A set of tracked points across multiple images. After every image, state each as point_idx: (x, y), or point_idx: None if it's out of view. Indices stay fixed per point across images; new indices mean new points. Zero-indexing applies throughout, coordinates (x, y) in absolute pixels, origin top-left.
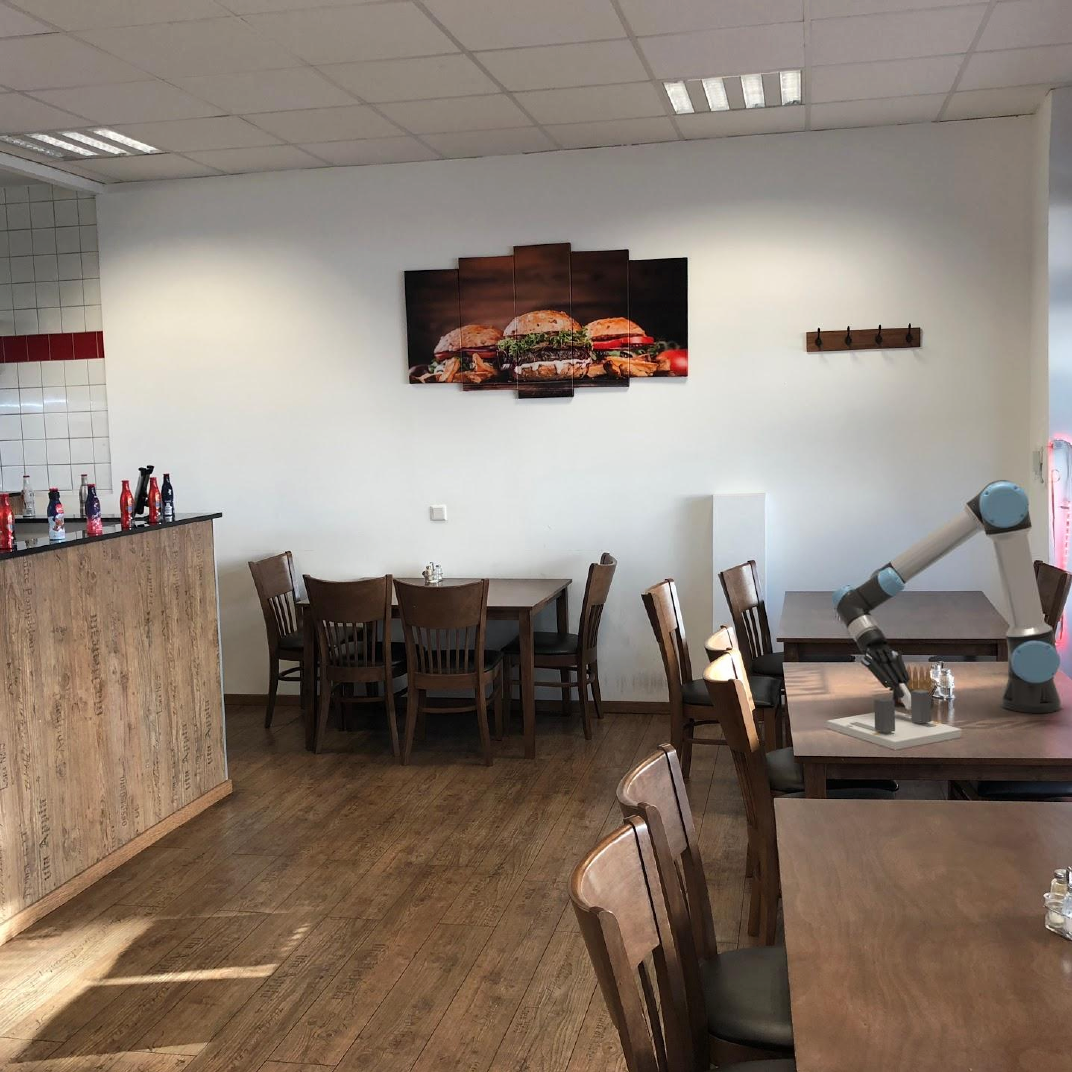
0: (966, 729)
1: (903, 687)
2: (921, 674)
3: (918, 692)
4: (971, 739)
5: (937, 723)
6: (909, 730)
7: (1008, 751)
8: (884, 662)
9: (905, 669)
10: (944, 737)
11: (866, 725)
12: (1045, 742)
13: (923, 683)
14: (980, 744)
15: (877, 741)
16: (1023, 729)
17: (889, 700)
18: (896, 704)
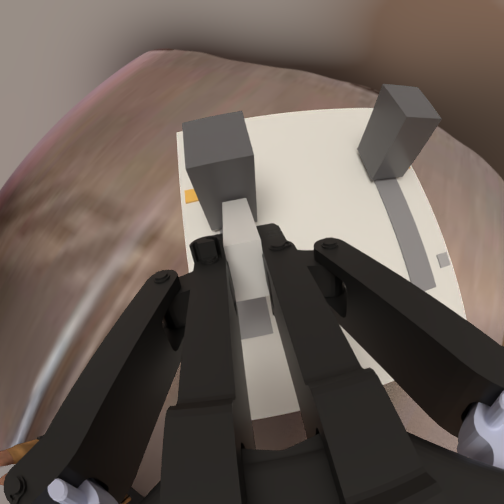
0: (122, 198)
1: (246, 229)
2: None
3: (240, 122)
4: (177, 127)
5: (191, 189)
6: (307, 159)
7: (183, 69)
8: (349, 374)
9: (116, 333)
10: None
11: (404, 242)
12: (97, 100)
13: None
14: (190, 100)
15: None
16: (51, 171)
17: (399, 88)
18: (138, 498)
